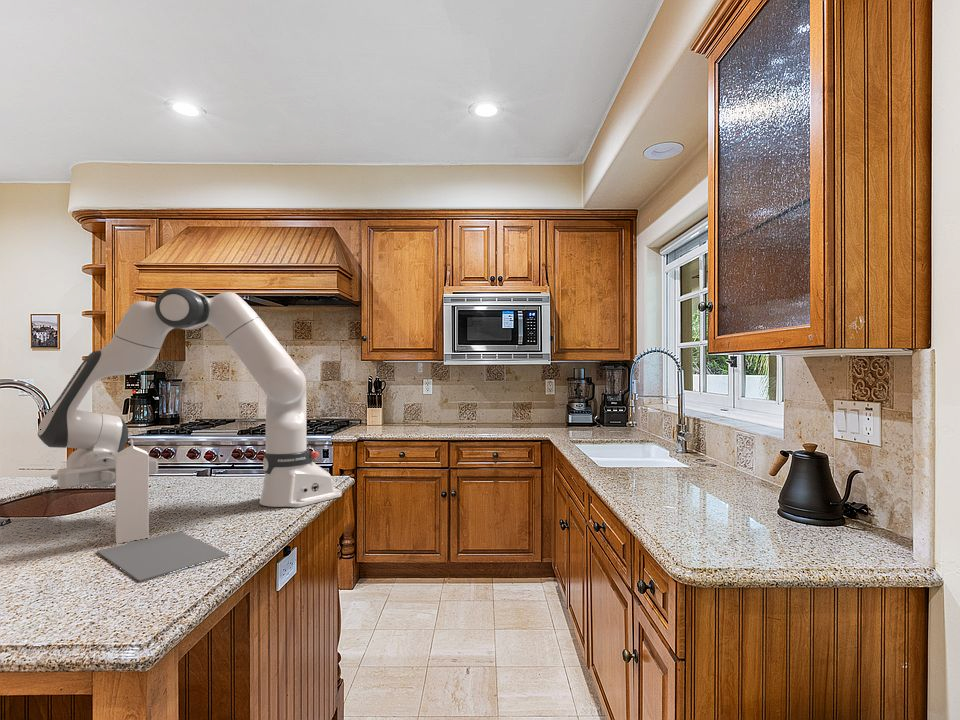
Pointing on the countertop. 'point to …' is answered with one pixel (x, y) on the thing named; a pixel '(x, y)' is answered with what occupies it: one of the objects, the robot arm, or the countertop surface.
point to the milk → (132, 494)
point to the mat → (160, 555)
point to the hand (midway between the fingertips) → (119, 475)
